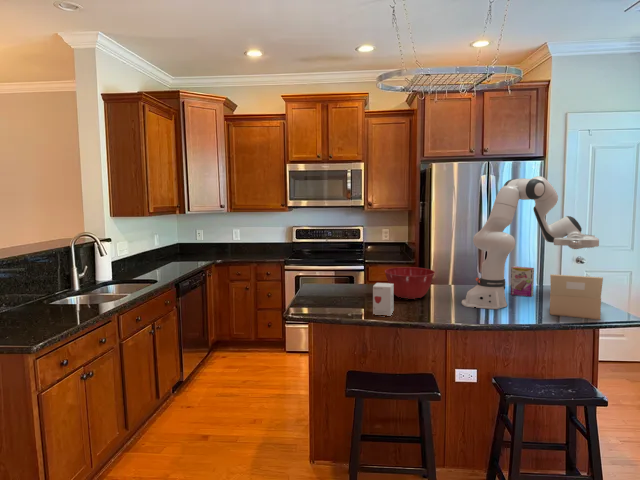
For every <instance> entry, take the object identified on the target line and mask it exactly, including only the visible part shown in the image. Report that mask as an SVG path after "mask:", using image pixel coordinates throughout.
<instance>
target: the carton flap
mask: <svg viewBox="0 0 640 480" xmlns="http://www.w3.org/2000/svg"><path fill="white" fill-rule="evenodd" d="M549 279H550V293H551V295H558V296H570V297H582V298H594V299H601V300H602V291H603V282H604V277H602V276H600V277H599V276H587V275H586V276H583V275H568V274H566V275H565V274H553V273H552V274H551V273H550V278H549Z"/></svg>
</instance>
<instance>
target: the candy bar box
mask: <svg viewBox="0 0 640 480" xmlns="http://www.w3.org/2000/svg"><path fill="white" fill-rule="evenodd" d="M510 271H511V273H510V274H511V275H510V295H511V296H518V297H525V298H527V297H528V298H532V297H534V288H535V287H534V284H535V283H534V280H535V279H534V277H535V268H534V267H529V266H528V267H527V266H515V265H514V266H511V270H510Z"/></svg>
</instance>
